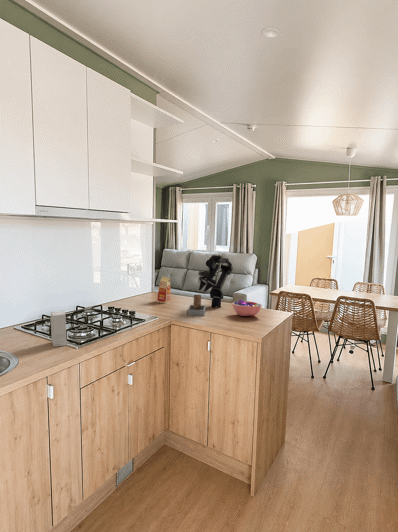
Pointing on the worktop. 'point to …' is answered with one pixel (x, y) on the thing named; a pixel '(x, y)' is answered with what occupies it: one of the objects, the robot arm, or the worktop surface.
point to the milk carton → (164, 290)
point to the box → (196, 311)
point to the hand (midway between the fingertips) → (201, 290)
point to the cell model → (246, 308)
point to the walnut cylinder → (197, 302)
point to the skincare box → (58, 328)
